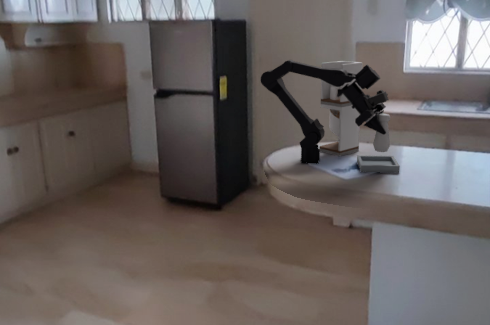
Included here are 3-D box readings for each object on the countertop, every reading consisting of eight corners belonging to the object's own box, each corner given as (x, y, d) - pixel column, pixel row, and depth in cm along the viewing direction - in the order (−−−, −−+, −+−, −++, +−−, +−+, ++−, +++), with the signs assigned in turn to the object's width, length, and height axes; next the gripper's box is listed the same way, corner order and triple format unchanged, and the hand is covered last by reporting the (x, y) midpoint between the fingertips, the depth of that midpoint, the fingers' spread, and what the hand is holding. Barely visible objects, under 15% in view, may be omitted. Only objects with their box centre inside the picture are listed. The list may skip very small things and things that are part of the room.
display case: (338, 146, 211) (341, 60, 201) (358, 151, 203) (362, 62, 193) (319, 151, 204) (321, 62, 194) (339, 156, 196) (343, 64, 186)
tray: (360, 172, 176) (361, 165, 175) (356, 161, 188) (357, 155, 187) (399, 172, 174) (399, 166, 174) (392, 162, 187) (393, 155, 186)
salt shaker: (388, 148, 180) (391, 112, 176) (390, 153, 174) (394, 115, 171) (371, 148, 181) (374, 112, 177) (373, 152, 175) (376, 115, 171)
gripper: (367, 86, 165) (398, 123, 163) (382, 80, 180) (410, 113, 178) (342, 108, 171) (372, 144, 169) (358, 100, 186) (386, 132, 184)
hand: (386, 132), depth 175 cm, fingers closed on salt shaker, 3 cm apart
